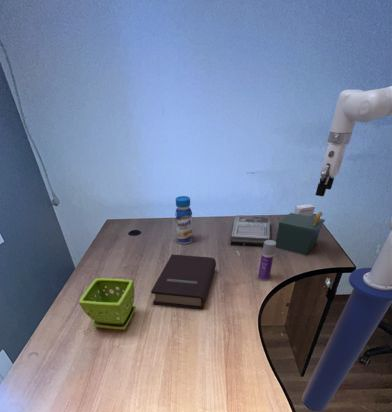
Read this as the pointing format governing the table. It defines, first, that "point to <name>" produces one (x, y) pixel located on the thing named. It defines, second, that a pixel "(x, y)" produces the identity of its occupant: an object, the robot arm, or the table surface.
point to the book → (184, 282)
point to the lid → (303, 221)
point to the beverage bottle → (184, 220)
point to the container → (267, 259)
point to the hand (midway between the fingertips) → (323, 192)
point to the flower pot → (109, 303)
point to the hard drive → (250, 231)
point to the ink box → (305, 210)
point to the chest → (296, 239)
